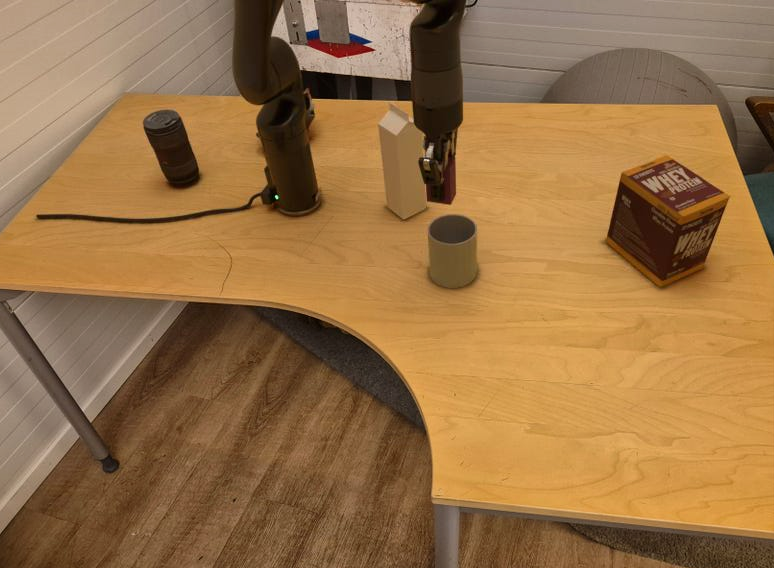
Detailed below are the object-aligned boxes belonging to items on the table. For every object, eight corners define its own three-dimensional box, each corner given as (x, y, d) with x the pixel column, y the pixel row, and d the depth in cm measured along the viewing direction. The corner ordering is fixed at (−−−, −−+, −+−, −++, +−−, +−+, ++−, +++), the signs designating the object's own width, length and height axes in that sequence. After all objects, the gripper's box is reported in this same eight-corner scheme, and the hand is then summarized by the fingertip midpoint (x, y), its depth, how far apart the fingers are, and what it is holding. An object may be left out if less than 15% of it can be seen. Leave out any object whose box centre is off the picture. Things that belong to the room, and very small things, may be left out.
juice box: (426, 201, 105) (423, 153, 98) (432, 190, 107) (429, 142, 100) (450, 205, 104) (449, 156, 97) (456, 194, 106) (455, 145, 99)
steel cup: (423, 283, 116) (421, 240, 109) (437, 253, 122) (435, 210, 114) (469, 291, 114) (469, 248, 107) (481, 261, 119) (482, 218, 112)
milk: (403, 220, 129) (394, 119, 112) (386, 207, 132) (375, 107, 116) (427, 208, 131) (421, 108, 115) (409, 195, 135) (401, 96, 118)
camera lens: (159, 186, 142) (133, 125, 131) (180, 167, 147) (157, 106, 136) (188, 193, 140) (164, 130, 129) (209, 173, 145) (187, 111, 134)
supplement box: (660, 289, 112) (683, 216, 100) (604, 242, 121) (619, 170, 109) (704, 268, 115) (732, 196, 103) (647, 224, 124) (666, 153, 112)
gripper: (427, 68, 97) (432, 167, 110) (396, 113, 89) (406, 215, 102) (474, 72, 95) (474, 173, 108) (447, 119, 87) (450, 221, 100)
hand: (441, 193), depth 105 cm, fingers closed on juice box, 3 cm apart
